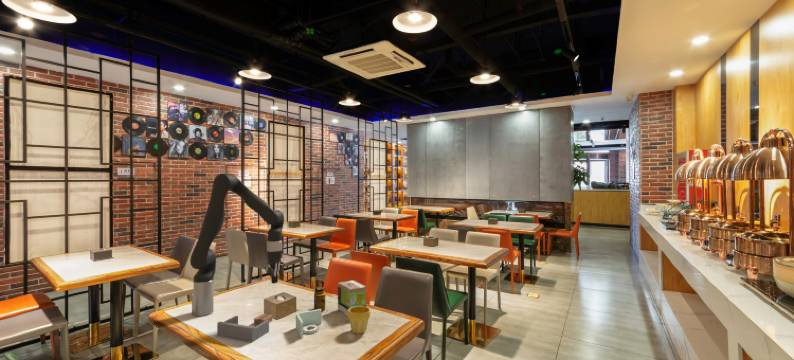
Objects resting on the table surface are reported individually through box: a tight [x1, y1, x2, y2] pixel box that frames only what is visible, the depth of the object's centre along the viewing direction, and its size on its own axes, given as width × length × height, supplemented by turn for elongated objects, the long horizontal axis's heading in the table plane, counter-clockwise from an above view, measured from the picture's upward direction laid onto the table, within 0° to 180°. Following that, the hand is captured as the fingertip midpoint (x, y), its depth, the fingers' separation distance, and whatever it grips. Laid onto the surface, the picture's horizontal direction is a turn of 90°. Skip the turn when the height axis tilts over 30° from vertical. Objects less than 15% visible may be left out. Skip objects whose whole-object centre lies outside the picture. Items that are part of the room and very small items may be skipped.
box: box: [216, 315, 270, 343], centre depth 157 cm, size 19×11×6 cm, turn 73°
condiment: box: [307, 286, 328, 313], centre depth 186 cm, size 7×8×12 cm
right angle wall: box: [295, 309, 322, 339], centre depth 161 cm, size 12×12×8 cm
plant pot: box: [347, 306, 371, 335], centre depth 161 cm, size 10×10×10 cm
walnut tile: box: [253, 313, 273, 326], centre depth 170 cm, size 6×6×3 cm
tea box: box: [337, 280, 367, 317], centre depth 184 cm, size 15×10×15 cm
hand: (274, 282), depth 178 cm, fingers closed
